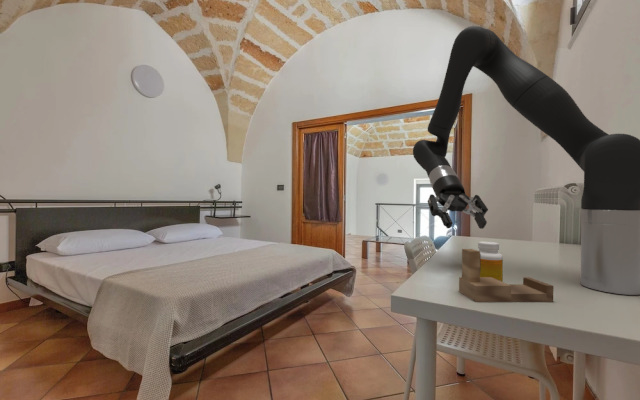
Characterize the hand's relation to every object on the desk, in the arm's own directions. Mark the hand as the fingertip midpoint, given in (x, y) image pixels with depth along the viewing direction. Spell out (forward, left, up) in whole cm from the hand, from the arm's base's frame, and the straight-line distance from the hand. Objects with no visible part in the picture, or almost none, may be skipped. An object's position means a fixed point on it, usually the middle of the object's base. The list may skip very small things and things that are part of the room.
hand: (466, 226), depth 70 cm
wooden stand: (+1, +15, -12) cm, 20 cm away
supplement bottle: (0, +9, -13) cm, 15 cm away
